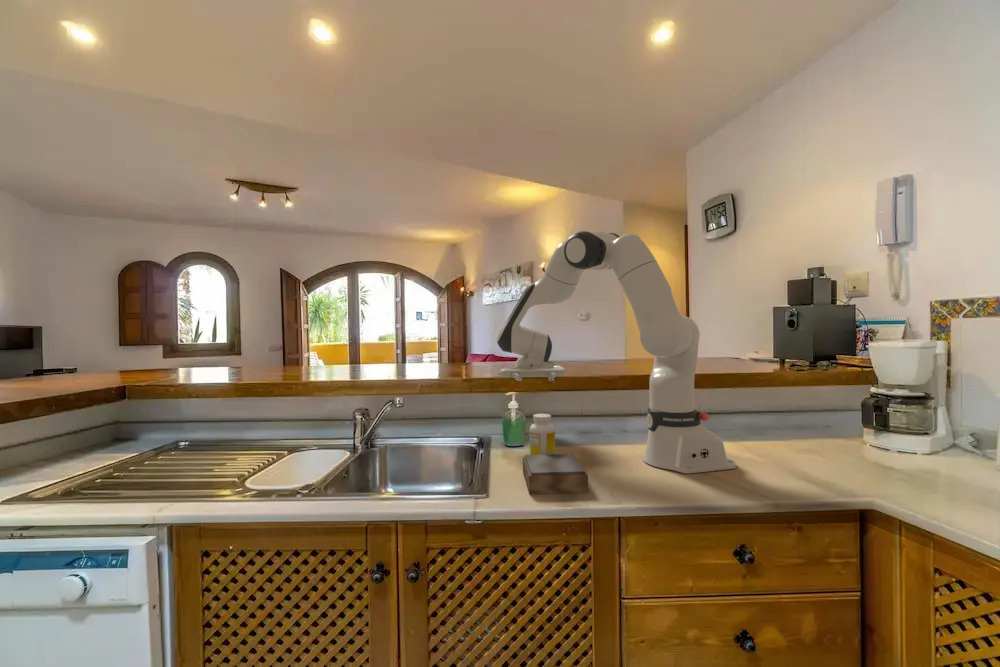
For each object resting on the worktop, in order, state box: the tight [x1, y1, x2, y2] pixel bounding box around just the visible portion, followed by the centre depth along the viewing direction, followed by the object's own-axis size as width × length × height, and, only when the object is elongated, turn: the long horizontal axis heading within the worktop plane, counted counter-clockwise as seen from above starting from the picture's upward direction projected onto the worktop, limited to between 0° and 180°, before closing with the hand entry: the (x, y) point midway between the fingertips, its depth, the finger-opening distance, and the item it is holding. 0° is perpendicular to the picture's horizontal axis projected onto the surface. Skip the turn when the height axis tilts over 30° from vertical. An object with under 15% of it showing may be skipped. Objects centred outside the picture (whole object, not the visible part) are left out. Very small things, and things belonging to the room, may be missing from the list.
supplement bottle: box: [529, 413, 556, 455], centre depth 120 cm, size 7×7×13 cm
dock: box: [522, 453, 589, 495], centre depth 106 cm, size 13×14×5 cm
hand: (535, 377), depth 133 cm, fingers open, 8 cm apart
